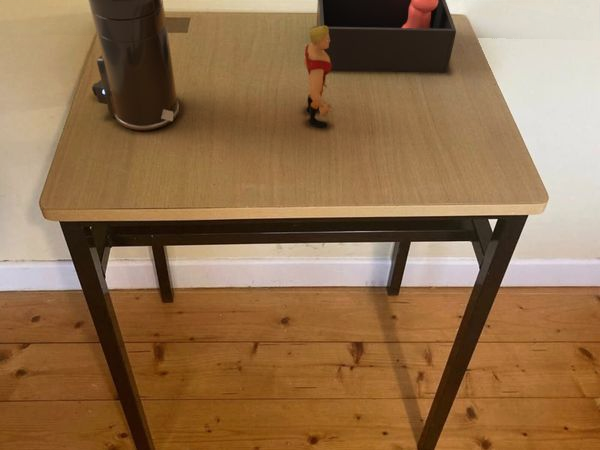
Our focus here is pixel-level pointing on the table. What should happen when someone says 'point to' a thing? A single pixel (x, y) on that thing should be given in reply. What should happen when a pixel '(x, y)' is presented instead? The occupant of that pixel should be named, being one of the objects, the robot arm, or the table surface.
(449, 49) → the bin
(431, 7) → the pink tall rounded piece
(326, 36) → the action figure
